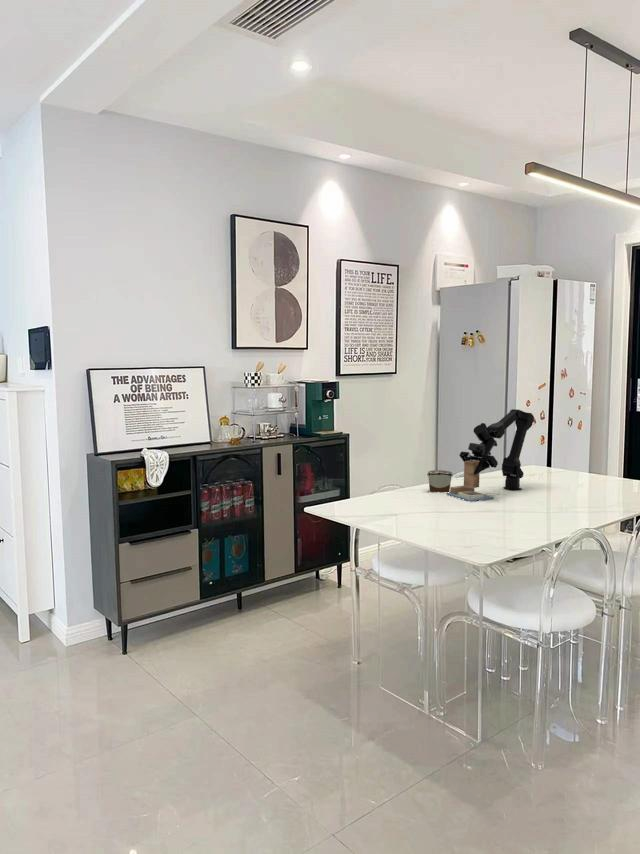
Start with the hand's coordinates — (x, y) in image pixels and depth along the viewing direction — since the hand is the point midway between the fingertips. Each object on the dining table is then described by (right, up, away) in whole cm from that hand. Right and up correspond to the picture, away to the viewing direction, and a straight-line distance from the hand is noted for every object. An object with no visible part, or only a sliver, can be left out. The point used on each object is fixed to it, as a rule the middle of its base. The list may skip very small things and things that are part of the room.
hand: (469, 473), depth 318 cm
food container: (-11, -10, +17) cm, 23 cm away
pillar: (+1, -6, +2) cm, 7 cm away
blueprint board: (+1, -11, +4) cm, 12 cm away
